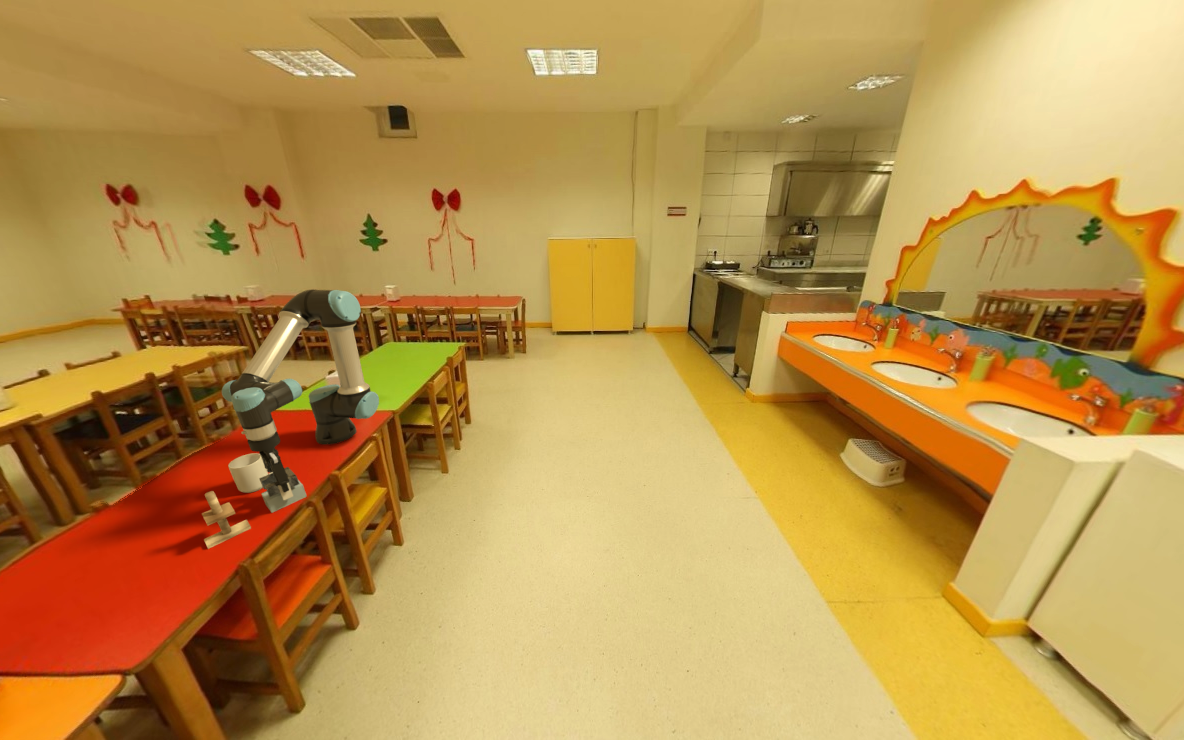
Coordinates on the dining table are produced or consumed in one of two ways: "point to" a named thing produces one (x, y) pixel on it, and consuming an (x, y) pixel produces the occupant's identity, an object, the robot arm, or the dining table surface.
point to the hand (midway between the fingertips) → (283, 492)
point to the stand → (221, 521)
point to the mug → (248, 472)
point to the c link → (270, 481)
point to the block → (277, 500)
